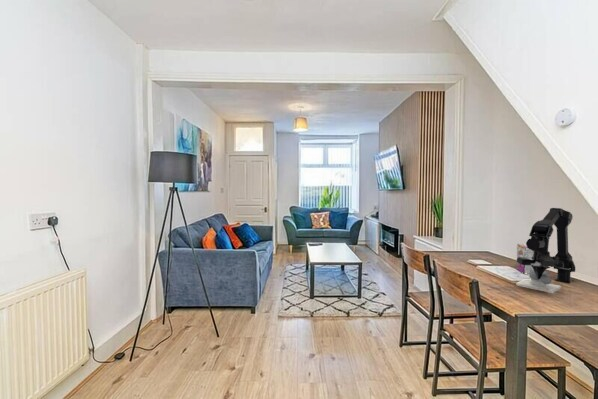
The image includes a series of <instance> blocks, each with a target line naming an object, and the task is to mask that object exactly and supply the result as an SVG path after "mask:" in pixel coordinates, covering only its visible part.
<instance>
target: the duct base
mask: <svg viewBox="0 0 598 399" xmlns="http://www.w3.org/2000/svg"><path fill="white" fill-rule="evenodd" d="M530 280H531V281H525V280H524V279H522V280H520V281H518V282H516V283H515V286H517V287H522V288H527V289H531V290H536V291H541V292H546V293H549V294H554V293H556V292H558V291H559V290H560V289H561V287H562V286H561V285H559V284H558V285H557V284H553V283H550V284H544V283H542V282H541V281H540V280H535V279H532V278H530Z"/></svg>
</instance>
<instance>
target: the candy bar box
mask: <svg viewBox="0 0 598 399" xmlns="http://www.w3.org/2000/svg"><path fill="white" fill-rule="evenodd" d="M516 245H517V246H516V259H517V258H518V257H526V258H528V259H530V260H533V259H532V257H533V254H534V251H532V250H530V249H529V248H528V247H527V245H526V243H517V244H516ZM515 269H516V270H517V271H518V270H519V271H518V272H520V271H521V272H520V273H522V272H523V273H527V274H526V275H529V272H530V270H532V269H533V268H532V266H531V265H522V264H520V263H518V262H517V261H516V268H515ZM523 273H522V274H523Z"/></svg>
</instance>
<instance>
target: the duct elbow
mask: <svg viewBox="0 0 598 399" xmlns="http://www.w3.org/2000/svg"><path fill="white" fill-rule="evenodd" d="M528 275H529V276H528V277H529V279H531V278H532V279H535V280H540V281H541V282H542V283H544V284H552V283H551V282H552V279H551V278H550V276H549V271H546V270H545V271H544V272H543V274H542V276H541V277H540V279H537V277H536V274H535V272H534V270H533V269H532V270H530V272H529V274H528Z"/></svg>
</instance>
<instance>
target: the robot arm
mask: <svg viewBox="0 0 598 399" xmlns="http://www.w3.org/2000/svg"><path fill="white" fill-rule="evenodd" d="M573 217H574V216H573V213H571V212H570V211H568V210H565V209H563V208H562V207H561V208H560V207H551V208H549V211H548V213H547V214H546V215H545V216H544V217H543V219H541V220H538V221H536V222H535V223H534V224H533V225H532V227H531V230H530V233H529V237H530V238H528V239H527V241H526V242H525V244H526V245H527V247H528V248H529V249H530V250H532V251H534V254H533V257H532V259H533V260H530V259H528V258H526V257H518V258H517V257H516V263H517V262H518V263H520V264H522V265H531V266H532V268H533V270H534V272H535V274H536V277H537V279H540V277H541V276H542V274H543V272H544V271H546V270H547V269H550V268H553V269H554V270H557V272H556V273H557V275H556V276H557V277H556V278H554V281H558V282H562V283H567V284H570V283H572V282H573V279H571V273H575V272H576V265H575V262H574V260H573V256H572V255H571V254H570V252H569V234H568V233H569V232H568V228H569V226H570V224H571V223H572V220H573ZM553 226H555V227H556V241H557V242H556V247H557V253H555V255H554V256H553V255H552V256H551V255H550V254H551V253H550V251H549V245H550V244H549V242H550V238H551V237H552V234H553V232H554V228H553Z"/></svg>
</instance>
